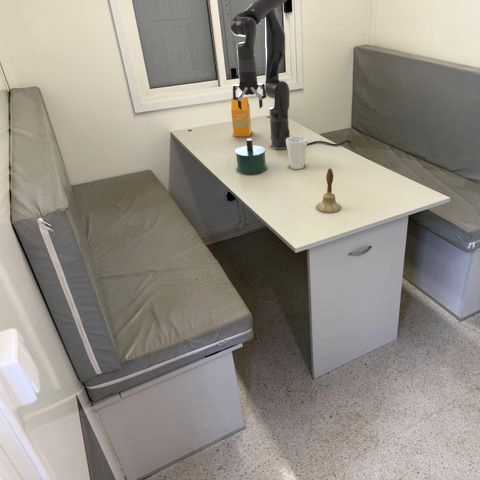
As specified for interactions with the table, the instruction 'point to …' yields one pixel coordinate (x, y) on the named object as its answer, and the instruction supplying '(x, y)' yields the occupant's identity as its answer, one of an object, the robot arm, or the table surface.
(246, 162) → the tin
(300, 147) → the foam cup
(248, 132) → the orange juice
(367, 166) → the table surface
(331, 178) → the hand bell
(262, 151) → the lid
